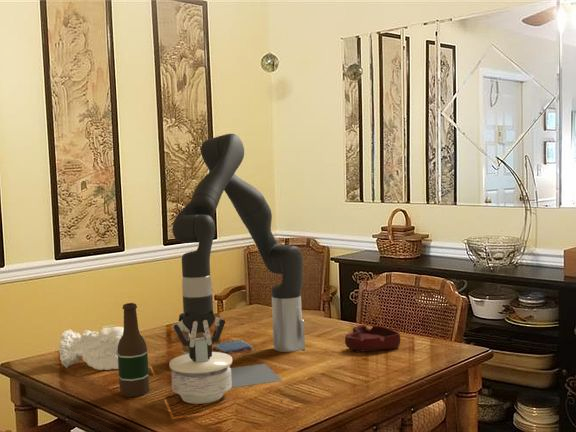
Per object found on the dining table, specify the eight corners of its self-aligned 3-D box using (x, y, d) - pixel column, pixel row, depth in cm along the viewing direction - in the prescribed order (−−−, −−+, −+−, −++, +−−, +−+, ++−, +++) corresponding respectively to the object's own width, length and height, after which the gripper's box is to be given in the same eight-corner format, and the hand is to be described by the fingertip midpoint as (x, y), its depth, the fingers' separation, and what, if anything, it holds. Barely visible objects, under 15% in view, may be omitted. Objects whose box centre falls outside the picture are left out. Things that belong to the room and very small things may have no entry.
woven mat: (224, 357, 220) (224, 351, 219) (212, 349, 229) (211, 343, 229) (255, 351, 224) (255, 345, 224) (241, 344, 234) (241, 338, 234)
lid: (224, 351, 191) (223, 329, 190) (239, 368, 175) (237, 343, 175) (165, 359, 186) (164, 335, 185) (174, 376, 171) (173, 351, 170)
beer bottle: (122, 388, 192) (116, 301, 189) (151, 387, 192) (146, 300, 190) (117, 398, 184) (112, 307, 182) (147, 396, 184) (142, 306, 182)
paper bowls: (241, 391, 186) (240, 361, 185) (217, 411, 172) (215, 379, 171) (189, 387, 191) (188, 358, 190) (161, 406, 177) (160, 375, 176)
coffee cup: (203, 365, 210) (201, 316, 209) (176, 365, 212) (173, 315, 210) (212, 357, 218) (209, 309, 217) (186, 357, 220) (183, 309, 219)
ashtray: (395, 356, 212) (394, 340, 212) (342, 353, 218) (342, 337, 217) (405, 341, 229) (404, 326, 229) (356, 338, 234) (355, 324, 234)
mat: (265, 365, 208) (265, 363, 208) (282, 382, 191) (282, 380, 191) (208, 373, 202) (208, 371, 202) (220, 391, 186) (220, 389, 186)
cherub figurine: (74, 325, 223) (134, 318, 220) (80, 364, 224) (140, 357, 221) (55, 335, 210) (119, 327, 208) (62, 376, 211) (125, 369, 208)
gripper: (221, 288, 185) (224, 352, 186) (167, 293, 180) (171, 359, 182) (227, 293, 178) (231, 360, 179) (171, 298, 173) (175, 367, 175)
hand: (200, 359), depth 181 cm, fingers closed on lid, 3 cm apart
